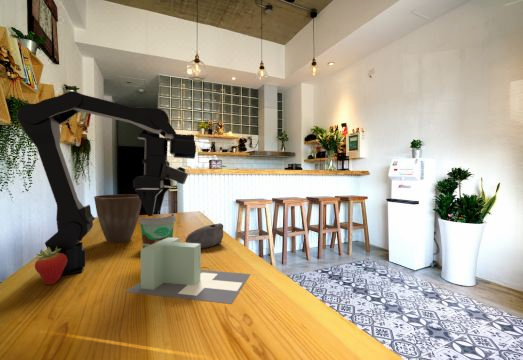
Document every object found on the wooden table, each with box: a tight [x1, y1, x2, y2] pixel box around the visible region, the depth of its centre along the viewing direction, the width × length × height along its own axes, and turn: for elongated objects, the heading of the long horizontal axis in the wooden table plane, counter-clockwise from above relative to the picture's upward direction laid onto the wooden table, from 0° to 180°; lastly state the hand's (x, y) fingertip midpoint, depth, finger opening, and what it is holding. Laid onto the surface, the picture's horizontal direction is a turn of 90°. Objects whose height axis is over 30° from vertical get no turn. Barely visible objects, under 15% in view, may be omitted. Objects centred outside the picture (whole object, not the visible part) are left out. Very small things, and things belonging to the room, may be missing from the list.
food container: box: [138, 213, 177, 248], centre depth 82 cm, size 12×6×10 cm, turn 143°
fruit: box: [34, 246, 67, 285], centre depth 54 cm, size 5×5×8 cm
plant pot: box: [93, 193, 142, 244], centre depth 89 cm, size 15×15×16 cm
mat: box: [124, 269, 251, 305], centre depth 54 cm, size 22×14×1 cm, turn 79°
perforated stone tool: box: [185, 223, 224, 249], centre depth 82 cm, size 15×5×7 cm, turn 139°
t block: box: [140, 237, 202, 290], centre depth 55 cm, size 10×10×8 cm
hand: (154, 213), depth 69 cm, fingers open, 9 cm apart
